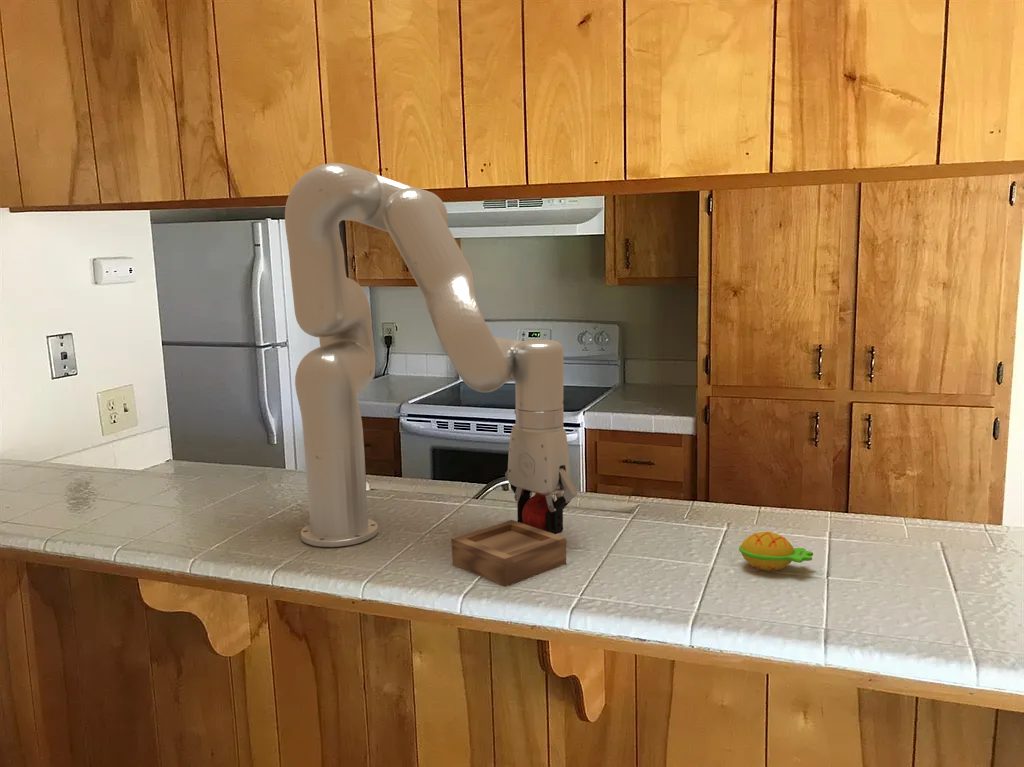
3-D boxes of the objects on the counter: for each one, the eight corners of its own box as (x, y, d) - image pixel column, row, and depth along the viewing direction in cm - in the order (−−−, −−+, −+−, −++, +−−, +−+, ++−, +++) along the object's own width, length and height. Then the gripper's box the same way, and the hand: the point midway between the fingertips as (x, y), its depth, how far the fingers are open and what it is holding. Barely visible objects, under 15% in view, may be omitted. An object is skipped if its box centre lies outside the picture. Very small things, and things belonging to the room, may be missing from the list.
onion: (555, 544, 132) (554, 495, 131) (519, 542, 133) (518, 493, 132) (560, 532, 138) (560, 485, 136) (525, 530, 139) (525, 483, 138)
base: (452, 564, 126) (451, 538, 125) (512, 544, 134) (511, 519, 133) (505, 586, 117) (504, 559, 116) (566, 563, 125) (565, 537, 124)
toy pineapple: (742, 557, 125) (743, 522, 125) (814, 566, 121) (815, 530, 121) (735, 573, 119) (735, 537, 118) (810, 583, 115) (811, 546, 114)
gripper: (485, 414, 136) (487, 521, 139) (561, 430, 124) (561, 548, 127) (520, 408, 141) (520, 511, 144) (596, 423, 129) (595, 536, 131)
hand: (539, 527), depth 135 cm, fingers closed on onion, 5 cm apart
